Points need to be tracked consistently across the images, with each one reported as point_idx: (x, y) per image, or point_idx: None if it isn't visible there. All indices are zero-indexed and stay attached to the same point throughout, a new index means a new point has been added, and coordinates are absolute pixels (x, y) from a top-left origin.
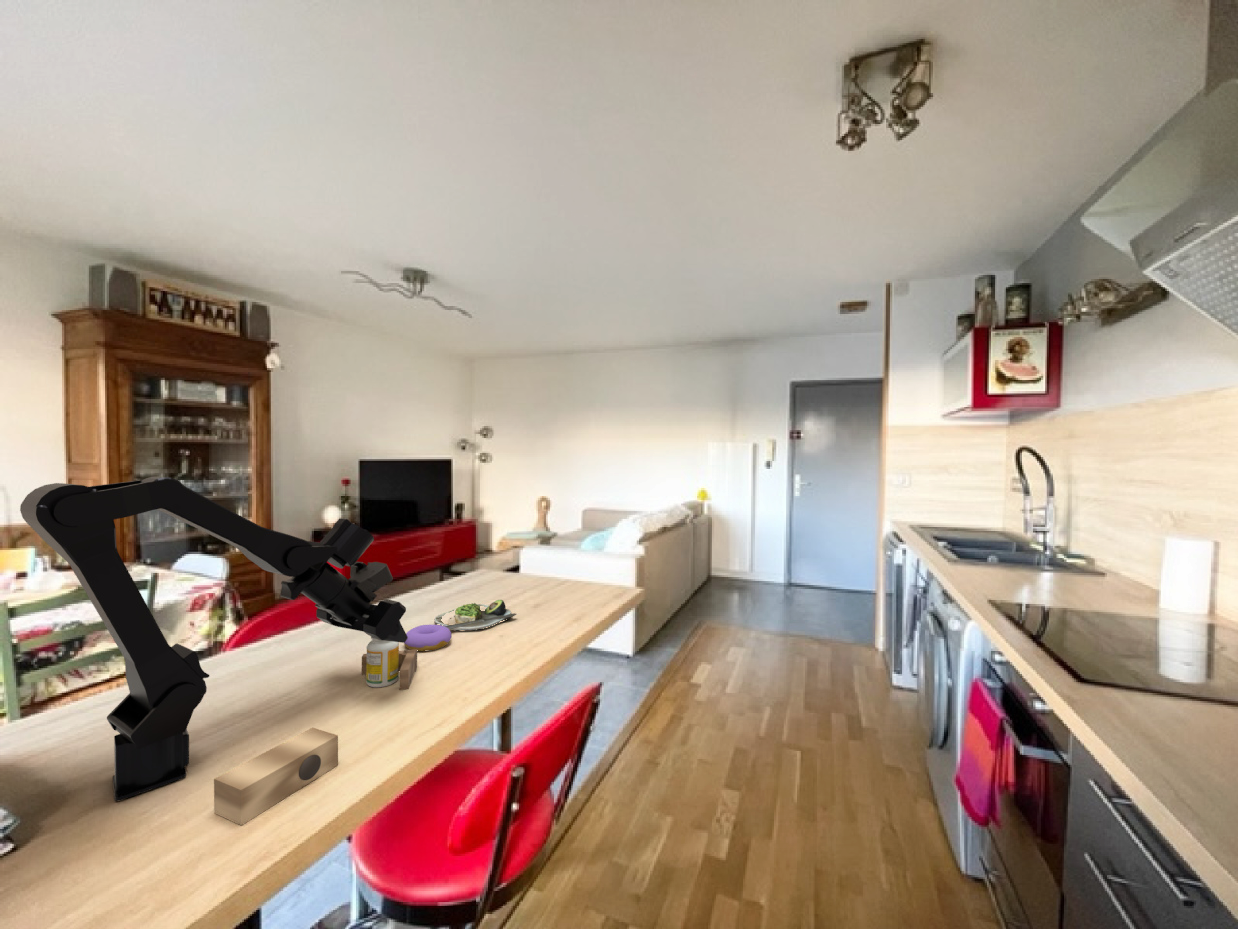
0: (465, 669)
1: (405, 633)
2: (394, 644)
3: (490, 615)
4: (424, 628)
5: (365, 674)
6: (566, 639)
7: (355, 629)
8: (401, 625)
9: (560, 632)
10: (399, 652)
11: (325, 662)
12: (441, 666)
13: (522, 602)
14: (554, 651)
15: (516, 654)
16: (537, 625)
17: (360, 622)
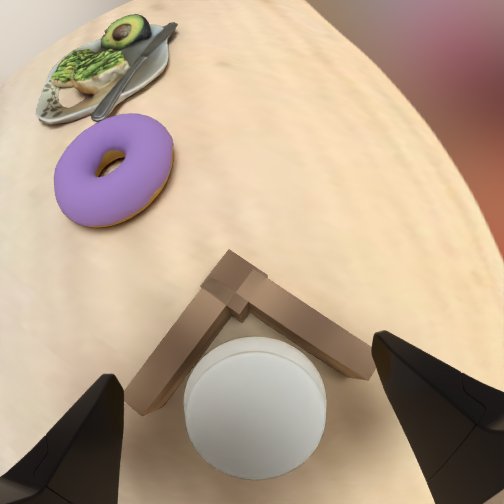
0: (348, 192)
1: (412, 346)
2: (317, 376)
3: (136, 45)
4: (81, 154)
5: (167, 399)
6: (333, 34)
7: (116, 490)
8: (472, 379)
9: (297, 23)
10: (207, 308)
11: (24, 404)
12: (284, 220)
13: (125, 15)
14: (371, 64)
15: (342, 93)
16: (235, 24)
17: (94, 474)
